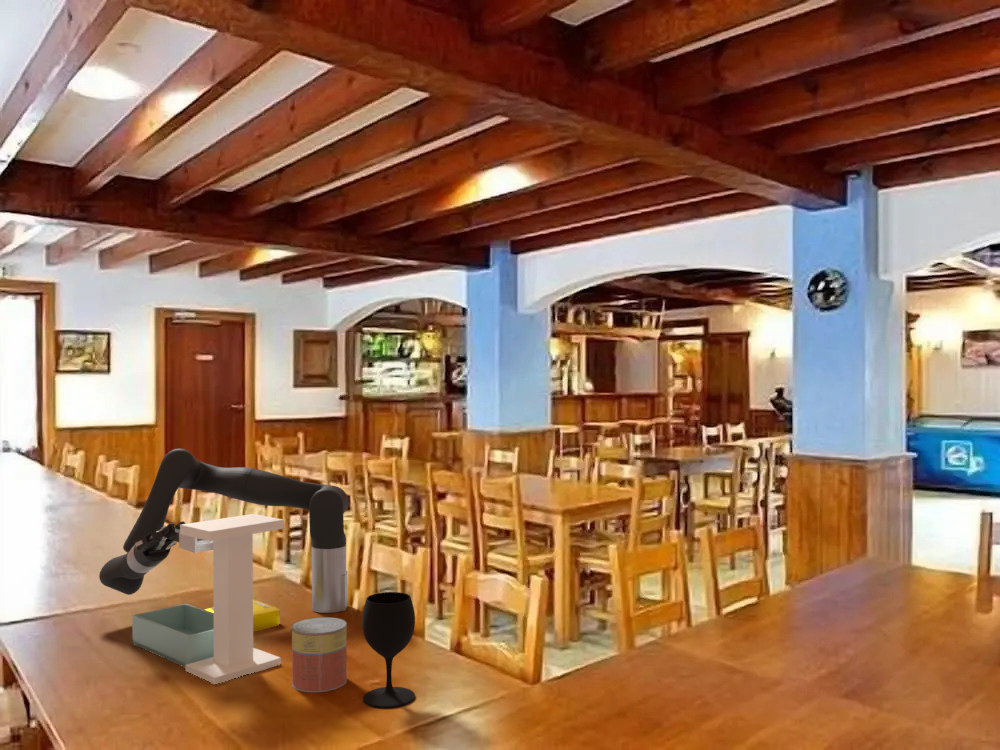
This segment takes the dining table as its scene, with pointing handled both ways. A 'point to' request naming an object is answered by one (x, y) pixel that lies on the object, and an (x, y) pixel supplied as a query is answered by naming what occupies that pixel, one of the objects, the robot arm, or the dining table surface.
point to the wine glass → (388, 641)
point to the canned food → (319, 654)
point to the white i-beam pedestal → (232, 596)
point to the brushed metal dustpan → (190, 542)
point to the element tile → (262, 615)
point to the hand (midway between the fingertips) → (178, 525)
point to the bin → (176, 633)
